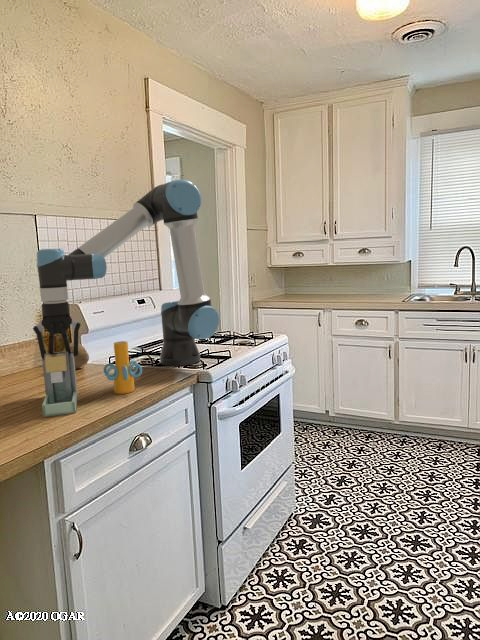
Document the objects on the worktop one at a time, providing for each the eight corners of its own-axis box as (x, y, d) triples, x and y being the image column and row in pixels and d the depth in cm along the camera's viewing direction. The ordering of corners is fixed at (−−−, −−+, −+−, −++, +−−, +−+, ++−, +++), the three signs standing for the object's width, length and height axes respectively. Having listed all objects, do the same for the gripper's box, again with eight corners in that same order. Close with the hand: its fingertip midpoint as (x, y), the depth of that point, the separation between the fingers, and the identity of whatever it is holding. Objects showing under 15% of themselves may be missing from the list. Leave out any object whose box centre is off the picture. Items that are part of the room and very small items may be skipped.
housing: (77, 396, 145) (73, 346, 143) (76, 404, 137) (71, 351, 135) (48, 399, 143) (43, 349, 141) (45, 408, 134) (40, 354, 132)
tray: (77, 401, 140) (76, 391, 139) (75, 412, 129) (74, 401, 129) (47, 405, 137) (45, 395, 137) (43, 417, 127) (41, 405, 127)
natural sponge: (59, 369, 184) (56, 342, 183) (82, 364, 190) (79, 339, 189) (69, 372, 178) (66, 345, 176) (92, 367, 183) (90, 341, 182)
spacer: (67, 367, 134) (65, 353, 134) (66, 370, 130) (64, 355, 130) (47, 369, 133) (46, 354, 132) (46, 372, 129) (44, 357, 129)
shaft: (73, 369, 152) (71, 350, 151) (69, 387, 131) (67, 364, 130) (52, 371, 150) (50, 352, 149) (45, 389, 129) (43, 367, 128)
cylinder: (103, 389, 152) (99, 341, 150) (137, 384, 156) (133, 337, 154) (109, 399, 141) (105, 347, 139) (146, 393, 145) (142, 343, 143)
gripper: (83, 299, 150) (90, 374, 153) (27, 303, 145) (35, 380, 148) (83, 301, 142) (90, 380, 146) (23, 305, 138) (32, 386, 141)
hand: (62, 380), depth 147 cm, fingers closed on shaft, 3 cm apart
